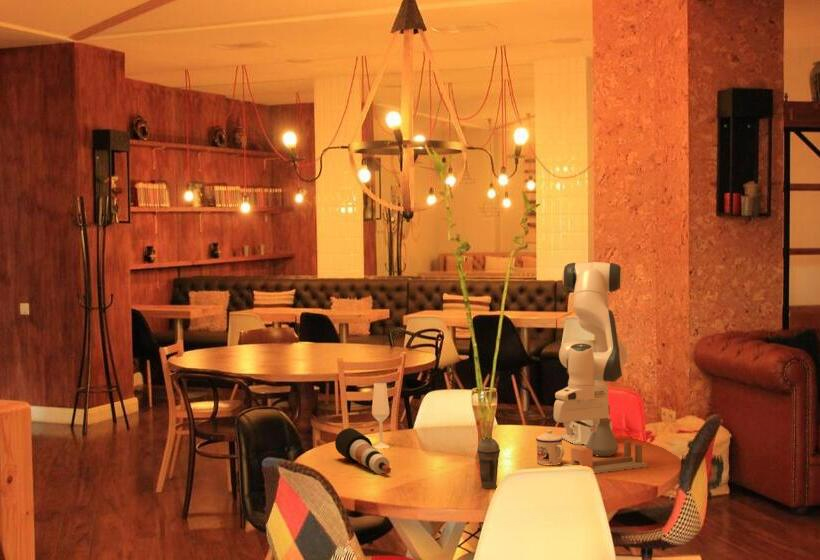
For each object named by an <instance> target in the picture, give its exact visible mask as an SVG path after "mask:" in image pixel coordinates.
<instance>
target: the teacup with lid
mask: <svg viewBox="0 0 820 560" xmlns="http://www.w3.org/2000/svg"><path fill="white" fill-rule="evenodd" d="M535 440H536V462H537V464H538V463H539V464H538V465H540V464H550V465H551V464H552V465H555V464H558V463H561V462H562V463H563V457H564V454H565V450H564V447H563V440H564V439H562V437H561V436H560V435H559V434H556V433H555V432H553V430H552V429H546V432H544V433H542V434H540V435H537V436H536V439H535ZM562 463H561V464H562ZM555 466H556V465H555Z"/></svg>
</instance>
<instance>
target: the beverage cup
mask: <svg viewBox="0 0 820 560" xmlns="http://www.w3.org/2000/svg"><path fill="white" fill-rule="evenodd" d="M490 425H491V424H488V425H487V437H485V438H483V439H482V440H480V442H479V443H478V445H477V450H476V451H477V458H478V462H479V472H480V473H479V474H480V482H481V488H483V489H489V490H490V489H495V488H497V483H498V468H499V457H500V452H501V450H500V444H499V443H498V442H497V440H495V439H494V438H491V437H490V431H491V430H490Z"/></svg>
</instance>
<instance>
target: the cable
mask: <svg viewBox="0 0 820 560" xmlns="http://www.w3.org/2000/svg"><path fill="white" fill-rule="evenodd" d="M372 443H373V442H372V441H371V439H370V438H369V437H367V436H366V435H364V434H363V433H361V432H360V431H358V430H356V429H354V428H350V427H347V428H345V429H342V430H340V431H339V433H338V434H337V436H336V438H335V441H334V445H335V450H336V451H337V452H338V453H339V454H340V455H341V456H343V457H344V458H346V459H347V460H348V461H349V462H351V463H353V464H355V465H356V464H361V465H363V467H365V468H367V469H369V470H371V471H372V472H374V473H376V474H377V475H382V474H381V473H384V474H389V473H391V472H392V468H391V467H390V465H391V463H390V461H389V459H388V458H387V456H385V455H383V454H382V453H381V452H380V451H378V449H376V448H374V447H373V444H372Z"/></svg>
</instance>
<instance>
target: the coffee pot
mask: <svg viewBox="0 0 820 560" xmlns="http://www.w3.org/2000/svg"><path fill="white" fill-rule="evenodd" d="M609 418H610V417H609ZM609 418H604V419H600V422H599V424H598V426H597V432H595V433H591V436H590V438H589V441H588V443H587V445H585V446H586V447H585V448H588V449H591V450H592V451H593V455H598V456H609V457H612V456H611V455H613V456H614V454H616V453H617V452H618V451H619V445H618V443H617V440H616V437H615V435H614V433H612V432H613V429H612V430H611V428H610V426H609V424H610V421H611V422H612V419H611V418H610V419H609ZM574 422H576V423H577V424H580V425H584V426H587V427H589V428H590V427H592V426H591V425H588V424H586V423H584V422H581V421H574ZM598 456H597V457H598Z"/></svg>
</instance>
